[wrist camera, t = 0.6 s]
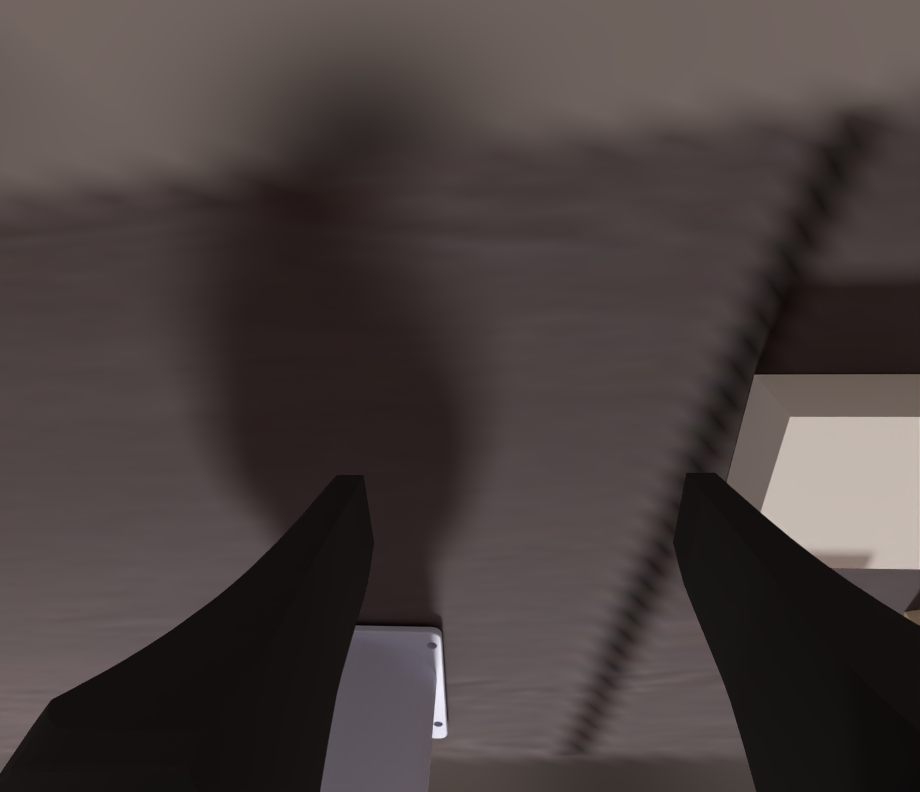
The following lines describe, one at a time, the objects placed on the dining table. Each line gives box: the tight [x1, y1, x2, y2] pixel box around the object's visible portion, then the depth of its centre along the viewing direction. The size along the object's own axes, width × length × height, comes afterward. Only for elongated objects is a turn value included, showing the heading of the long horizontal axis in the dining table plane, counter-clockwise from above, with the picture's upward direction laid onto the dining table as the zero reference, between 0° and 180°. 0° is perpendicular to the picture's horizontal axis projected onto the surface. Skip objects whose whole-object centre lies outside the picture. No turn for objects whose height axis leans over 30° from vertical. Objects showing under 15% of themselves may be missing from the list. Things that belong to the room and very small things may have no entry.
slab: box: [726, 374, 920, 569], centre depth 22 cm, size 7×7×3 cm
